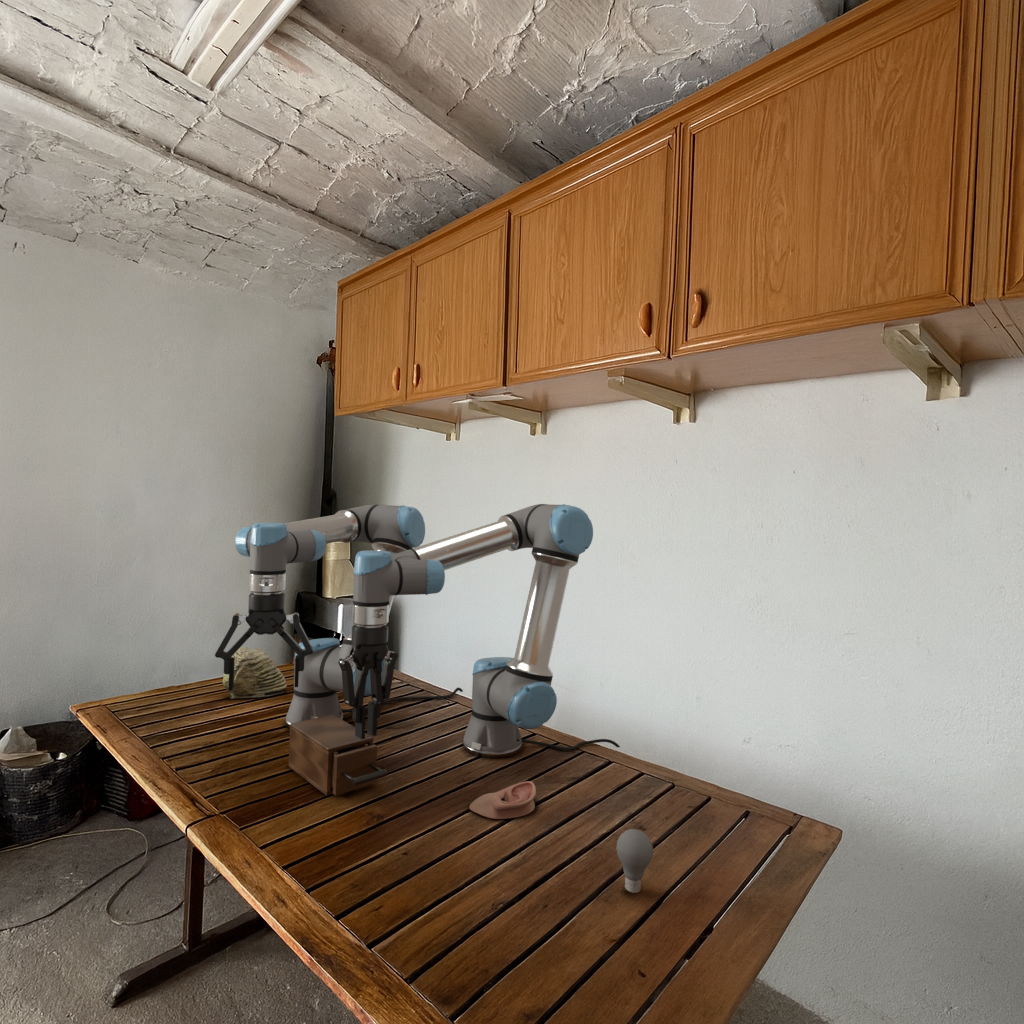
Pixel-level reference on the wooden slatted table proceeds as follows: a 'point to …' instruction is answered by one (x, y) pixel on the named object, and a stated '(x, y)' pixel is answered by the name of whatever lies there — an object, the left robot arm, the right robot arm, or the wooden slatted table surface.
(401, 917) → the wooden slatted table surface
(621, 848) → the light bulb
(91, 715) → the wooden slatted table surface
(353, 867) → the wooden slatted table surface
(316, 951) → the wooden slatted table surface
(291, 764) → the cabinet
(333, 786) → the drawer
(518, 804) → the anatomical model
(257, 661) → the fossil
